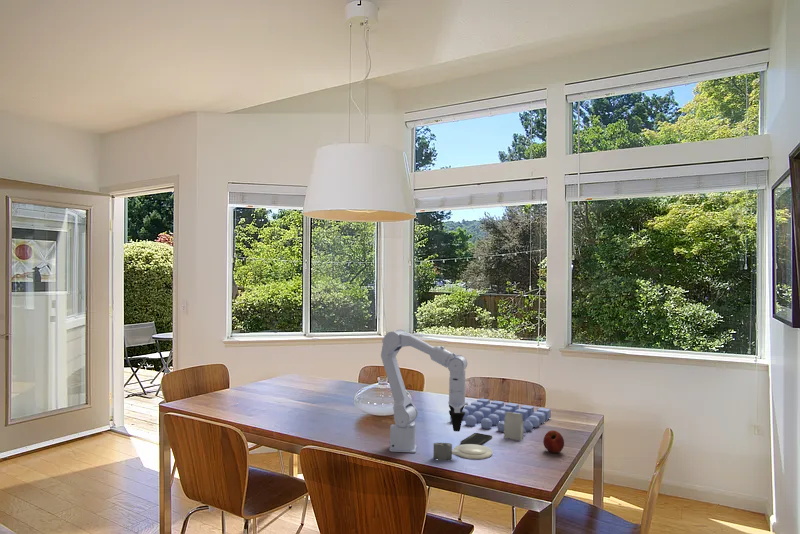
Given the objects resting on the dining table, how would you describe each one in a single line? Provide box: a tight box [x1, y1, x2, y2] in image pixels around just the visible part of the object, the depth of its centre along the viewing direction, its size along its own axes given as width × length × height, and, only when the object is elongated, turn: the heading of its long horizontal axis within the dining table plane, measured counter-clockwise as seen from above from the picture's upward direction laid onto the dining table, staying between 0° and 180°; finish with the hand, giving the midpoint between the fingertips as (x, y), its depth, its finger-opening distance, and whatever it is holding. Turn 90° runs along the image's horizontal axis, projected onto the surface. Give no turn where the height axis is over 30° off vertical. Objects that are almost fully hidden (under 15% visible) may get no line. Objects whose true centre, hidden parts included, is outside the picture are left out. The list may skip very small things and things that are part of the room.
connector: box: [432, 442, 458, 461], centre depth 182 cm, size 8×4×5 cm, turn 84°
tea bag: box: [503, 412, 524, 441], centre depth 207 cm, size 4×7×10 cm, turn 61°
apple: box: [542, 430, 565, 454], centre depth 191 cm, size 7×8×8 cm
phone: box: [460, 432, 493, 446], centre depth 203 cm, size 8×1×15 cm
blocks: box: [449, 397, 552, 435], centre depth 232 cm, size 35×34×5 cm
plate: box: [453, 444, 493, 460], centre depth 189 cm, size 14×14×1 cm
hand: (456, 427), depth 185 cm, fingers open, 7 cm apart
